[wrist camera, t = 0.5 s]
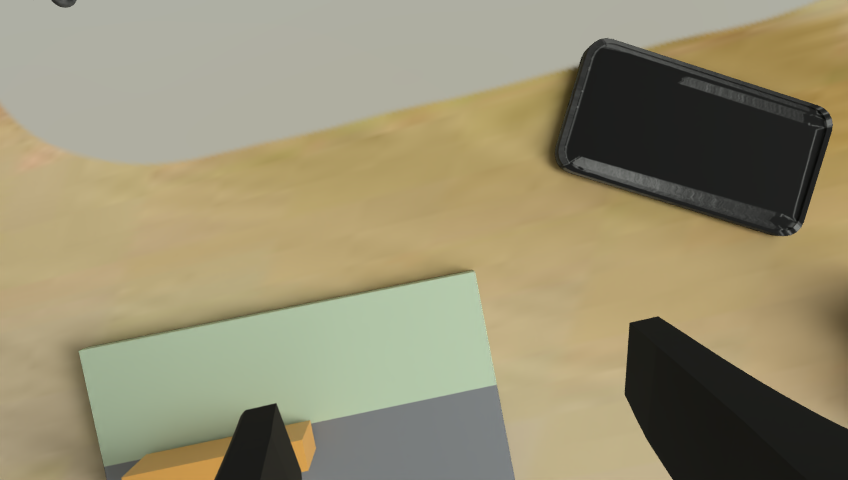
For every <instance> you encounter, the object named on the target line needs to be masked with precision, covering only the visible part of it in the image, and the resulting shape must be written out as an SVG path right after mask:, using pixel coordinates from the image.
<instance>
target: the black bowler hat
mask: <svg viewBox="0 0 848 480" xmlns="http://www.w3.org/2000/svg"><path fill="white" fill-rule="evenodd" d="M52 1H53V2H54V3H55V4H56V5H58V6H60V7H71V6H72V5H74V4H75V2H76V0H52Z"/></svg>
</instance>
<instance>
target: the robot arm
mask: <svg viewBox="0 0 848 480" xmlns="http://www.w3.org/2000/svg"><path fill="white" fill-rule="evenodd" d="M625 396H626V398H627V400H628V402H629V404H630V406H631V409H632V411H633V413H634V415H635V417H636V419H637V421H638V423H639V425H640V427H641V429H642V431H643V433H644V435H645V437H646V439H647V440H648V442H649V443H650V445H651V447H652V448H653V450H654V451H655V453H656V454H657V456H658V457H659V459H660V461H661V462H662V464H663V465H664V467H665V468H666V470H667V471H668V473H669V474H670V476H671V477H672V479H673V480H848V429H846V428H844V427H842V426H840V425H838V424H836V423H834V422H832V421H830V420H828V419H826V418H824V417H822V416H821V415H819V414H817V413H815V412H813V411H811V410H809V409H808V408H806V407H804V406H802V405H800V404H799V403H797V402H795V401H793V400H791V399H790V398H788V397H786V396H784V395H782V394H781V393H779V392H777V391H775V390H774V389H772V388H770V387H769V386H767V385H765V384H763V383H762V382H760V381H758V380H757V379H755V378H753V377H752V376H750V375H749V374H747V373H745V372H744V371H742V370H740V369H739V368H737V367H736V366H734V365H732V364H731V363H729V362H728V361H726V360H725V359H723V358H721V357H720V356H718V355H717V354H715V353H714V352H712V351H711V350H709V349H708V348H706V347H704V346H703V345H701V344H700V343H698V342H697V341H695V340H694V339H692V338H691V337H689V336H688V335H686V334H685V333H683V332H681V331H680V330H678V329H677V328H675V327H674V326H672V325H671V324H669V323H668V322H666V321H664V320H663V319H661V318H660V317H653V318H649V319H645V320H640V321H636V322H631V323H630V326H629V340H628V354H627V368H626V382H625ZM214 480H302V473H301V469H300V466H299V463H298V460H297V458H296V455H295V452H294V450H293V447H292V444H291V441H290V439H289V436H288V433H287V430H286V428H285V425H284V422H283V420H282V417H281V414H280V411H279V409H278V406H277V403H274V404H270V405H265V406H261V407H257V408H252V409H248V410H245V411H244V412H243V413H242V415H241V416H240V419H239V421H238V424H237V427H236V429H235V432H234V434H233V437H232V439H231V442H230V444H229V447H228V449H227V451H226V454H225V456H224V458H223V461H222V463H221V465H220V468H219V470H218V472H217V474H216V477H215V479H214Z"/></svg>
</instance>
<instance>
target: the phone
mask: <svg viewBox="0 0 848 480" xmlns="http://www.w3.org/2000/svg"><path fill="white" fill-rule="evenodd" d="M579 65H580V68H579V71H578V74H577V78H576V81H575V84H574V88H573V91H572V94H571V98H570V101H569V104H568V108H567V111H566V114H565V118H564V121H563V124H562V128H561V131H560V134H559V138H558V141H557V144H556V148H555V158H556V161H557V163H558V165H559V166H560V167H561V168H562V169H563V170H565V171H567V172H569V173H572V174H575V175H578V176H582V177H585V178H588V179H591V180H595V181H598V182H601V183H604V184H608V185H611V186H614V187H617V188H621V189H624V190H627V191H630V192H634V193H637V194H640V195H643V196H647V197H650V198H653V199H656V200H660V201H663V202H666V203H669V204H673V205H676V206H679V207H682V208H686V209H689V210H692V211H695V212H698V213H702V214H705V215H708V216H711V217H715V218H718V219H721V220H724V221H728V222H731V223H734V224H737V225H741V226H744V227H747V228H750V229H754V230H757V231H760V232H763V233H767V234H770V235H775V236H788V235H792V234H794V233H796V232H797V231H798V230H799V229H800V228H801V227H802V225H803V223H804V220H805V217H806V213H807V210H808V207H809V204H810V200H811V197H812V194H813V191H814V187H815V184H816V181H817V178H818V174H819V171H820V168H821V165H822V161H823V158H824V155H825V152H826V148H827V145H828V142H829V139H830V135H831V132H832V126H833V124H832V118H831V116H830V114H829V113H828V112H827V111H826V110H825V109H824V108H822V107H820V106H818V105H815V104H812V103H809V102H805V101H802V100H799V99H796V98H793V97H790V96H787V95H784V94H781V93H778V92H775V91H771V90H768V89H765V88H762V87H759V86H756V85H753V84H750V83H747V82H744V81H740V80H737V79H734V78H731V77H728V76H725V75H722V74H719V73H716V72H713V71H710V70H706V69H703V68H700V67H697V66H694V65H691V64H688V63H685V62H682V61H679V60H676V59H672V58H669V57H666V56H663V55H660V54H657V53H654V52H651V51H648V50H645V49H642V48H638V47H635V46H632V45H629V44H626V43H623V42H619V41H617V40H614V39H608V38H605V39H600V40H598V41H596V42H594V43H593V44H592V45H591V46H590V47H589V48H588V49H587V50H586V51H585V52H584V53H583V55H582V57H581V60H580V63H579ZM581 65H582V66H581Z"/></svg>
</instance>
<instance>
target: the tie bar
mask: <svg viewBox="0 0 848 480" xmlns="http://www.w3.org/2000/svg"><path fill="white" fill-rule="evenodd" d="M285 428H286V430H287V433H288V436H289V439H290V441H291V444H292V447H293V450H294V452H295V455H296V458H297V460H298V463H299V466H300V469H301V472H305V471H309V468H310V465H311V462H312V459H313V456H314V453H315V450H316V446H315V441H314V436H313V431H312V426H311V421H310V420H309V421H304V422H299V423H294V424H289V425H285ZM232 437H233V436H232ZM232 437H227V438H222V439H218V440H213V441H208V442H203V443H198V444H194V445H189V446H184V447H179V448H174V449H170V450H165V451H160V452H155V453H151V454H146V455H145V456H144V457H143V458H142V459H141V460H140V461H139V462H138V463H136V464H135V465H134V466H133V467H132V468H131V469H130V470H129V471H128V472H127V473H126V474H125V475H124V476H123V477H122V478H121V479H122V480H214V479H215V477H216V474H217V472H218V470H219V468H220V465H221V463H222V461H223V458H224V456H225V454H226V451H227V449H228V447H229V444H230V442H231V439H232Z"/></svg>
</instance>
